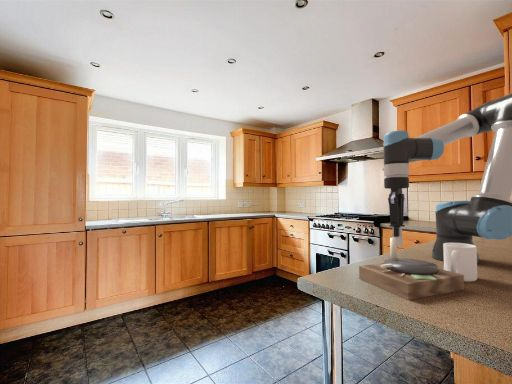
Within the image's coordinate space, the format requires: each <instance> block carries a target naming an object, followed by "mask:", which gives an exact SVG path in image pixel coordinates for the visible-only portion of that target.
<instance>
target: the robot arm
mask: <svg viewBox="0 0 512 384" xmlns="http://www.w3.org/2000/svg"><path fill="white" fill-rule="evenodd" d="M487 132H488V133H489V132H493V133H494V136H493V139H492V141H491V142H492V143H491V146H490V148H489V149H490V150H489V153H488V155H487V160H486V164H485V167H484V171H483V175H482V178H481V182H480V185H479V188H478V192H477V193H476V194H474V195H472V196H471V197H470V200H453V201H450V200H449V201H444V202H443V201H442V202H438V203H437V204H436V205H435V232H436V233H435V234H436V235H435V236H436V239H435V242H434V245H433V247H432V250H431V257H432V258H433V259H436V260H438V261H443V262H444V250H443V244H444V243H464V244H471V245H475V243H474V241H473V240H474V239H473V237H477V238H483V239H484V240H497V241H499V240H501V241H502V240H506V239H508V238H510V237H512V200H511V196H512V93H510V94H509V93H508V94H506V95H504V96H501V97H498V98H495V99H493V100H489V101H486V102H485V103H483V104H481V105H479V106H477V107H475V108H474V109H472V110H470V111H468V112H465V113H464V114H461V115H459V116H458V117H457V118H456V119H455V120H454V121H451V122H449V123H446V124H444V125H442V126H440V127H437V128H435V129H433V130H430V131H427V132H425V133H423V134H421V135H418V136H416V137H410V135H409V132H408V131H406V130H399V129H398V130H392V131H388V132H387V133H385V134H384V136H383V145H382V147H383V168H382V169H381V170H382V171H383V176H384V177H385V178H384V179H383V185H384V186H383V187H384V189H385V190H386V189H389V190H390V193H389V194H388V198H387V200H388V207H389V208H388V209H389V220H390V221H389V222H390V223H389V224H388V225H389V227H390V228H392V229H391V231H392V236H391V238H397V248H398V247H400V248H401V247H403V228H404V227H405V224H404V215H405V214H404V211H405V200H406V198H405V193H403V189H408V188H409V187H410V178H409V177H408V176H409V175H410V163H414V162H415V163H416V162H419V161H434V160H435V161H436V160H438V159H440V158H441V157H442V156H443V154H444V151H445V146H447V145H449V144H452V143H453V142H456V141H459V140H461V139H463V138H472V137H474V136H476V135H480V134H484V133H487ZM479 262H480V256H479V254H478V252H477V263H479Z"/></svg>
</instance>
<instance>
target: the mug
mask: <svg viewBox="0 0 512 384" xmlns="http://www.w3.org/2000/svg"><path fill="white" fill-rule="evenodd" d="M477 247H478V246H477V245H475V244H474V245H471V244H464V243H444V244H443V250H444V261H443V270H446V271H450V272H454V273H457V274H461V275H464V282H475V281H477V280H478V262H477V253H478V251H477V250H478V249H477Z"/></svg>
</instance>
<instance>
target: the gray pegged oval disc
mask: <svg viewBox="0 0 512 384" xmlns="http://www.w3.org/2000/svg"><path fill="white" fill-rule="evenodd" d="M389 253H390V256H389V257H390V258H387V259H385V260H384V261H383V263H384V264H383V265H381V267H382V268H384V267H386V268H388V269H390V270H393V271H396V272H401V273H407V274H417V275H429V274H435V273H437V272H438V268H439V266H438V264H435V263H433V262H430V261H427V260H421V259H417V258H416V259H414V258H405V257H404V258H403V257H399V258H398V246H397V238H392V237H389Z"/></svg>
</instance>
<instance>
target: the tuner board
mask: <svg viewBox="0 0 512 384" xmlns="http://www.w3.org/2000/svg"><path fill="white" fill-rule="evenodd" d="M383 264H384V262H381V263H374V264H365V265H359V266H358V273H359V274H358V276H359V277H358V278H359V279H360V280H361V281H363V282H366V283H369V284H370V285H373V286H375V287H377V288H379V289H381V290H384V291H387V292H389V293H392V294H394V295H396V296H398V297H400V298H403V299H404V300H405V299H406V301H407V300H414V299H421V298H425V297H430V296H437V295H443V294H448V293H455V292H459V291H464V290H465V281H464V275H461V274H457V273H454V272H450V271H446V270H444V269H442V268H439V267H438V272H437V273H435V274H429V275H417V274H407V273H401V272H396V271H393V270H390V269H388V268H386V267H384V268H382V267H381V265H383Z"/></svg>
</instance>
